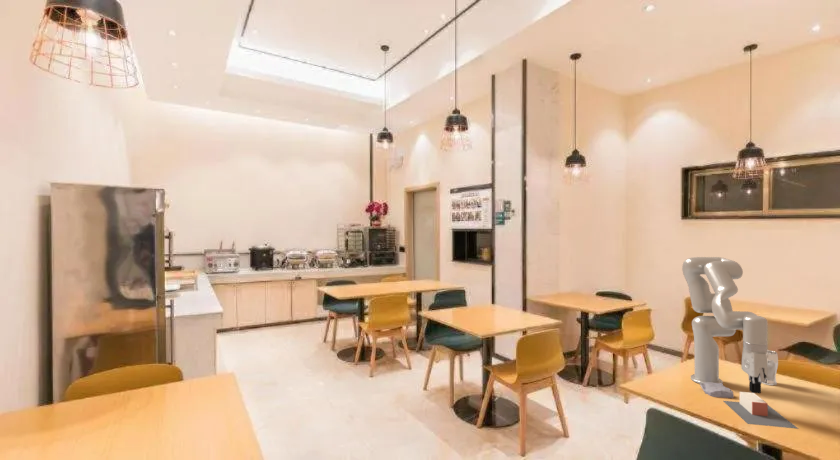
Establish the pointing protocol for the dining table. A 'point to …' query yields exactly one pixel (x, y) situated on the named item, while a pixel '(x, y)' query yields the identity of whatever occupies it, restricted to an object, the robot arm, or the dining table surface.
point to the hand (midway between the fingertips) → (755, 392)
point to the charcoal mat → (769, 420)
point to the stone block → (716, 390)
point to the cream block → (753, 404)
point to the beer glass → (771, 368)
